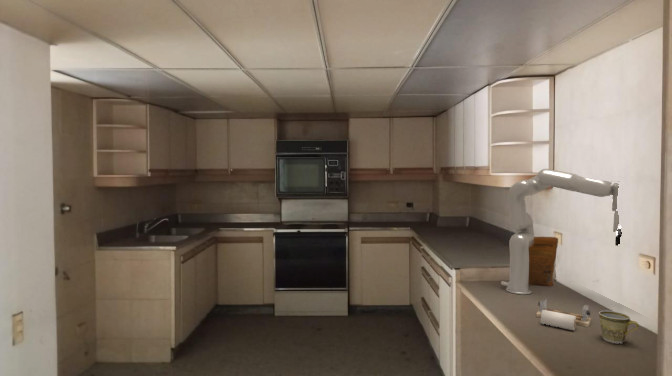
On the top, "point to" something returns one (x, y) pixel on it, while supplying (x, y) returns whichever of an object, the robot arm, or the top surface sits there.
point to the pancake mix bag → (542, 261)
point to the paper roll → (558, 319)
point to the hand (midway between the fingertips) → (620, 244)
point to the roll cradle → (580, 319)
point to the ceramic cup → (614, 326)
